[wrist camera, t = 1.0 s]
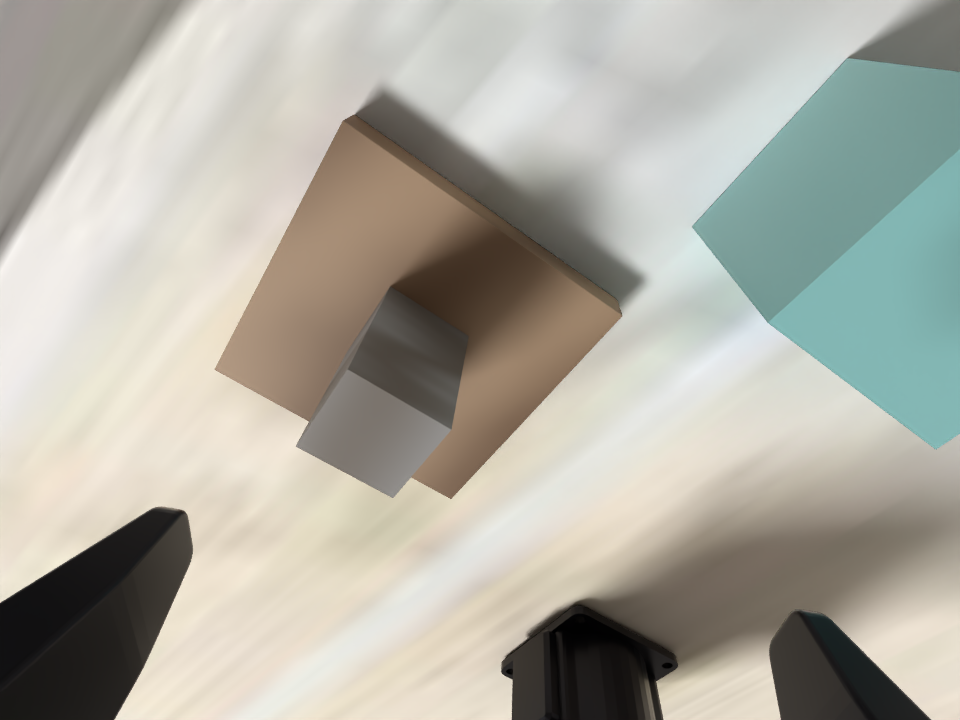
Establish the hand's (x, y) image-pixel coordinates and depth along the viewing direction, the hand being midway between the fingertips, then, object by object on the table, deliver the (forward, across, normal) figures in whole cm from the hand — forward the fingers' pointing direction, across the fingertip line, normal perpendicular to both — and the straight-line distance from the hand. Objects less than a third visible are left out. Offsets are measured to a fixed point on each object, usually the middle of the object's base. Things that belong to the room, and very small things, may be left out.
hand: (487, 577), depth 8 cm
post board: (+12, +3, +3) cm, 13 cm away
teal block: (+12, -9, -4) cm, 16 cm away
